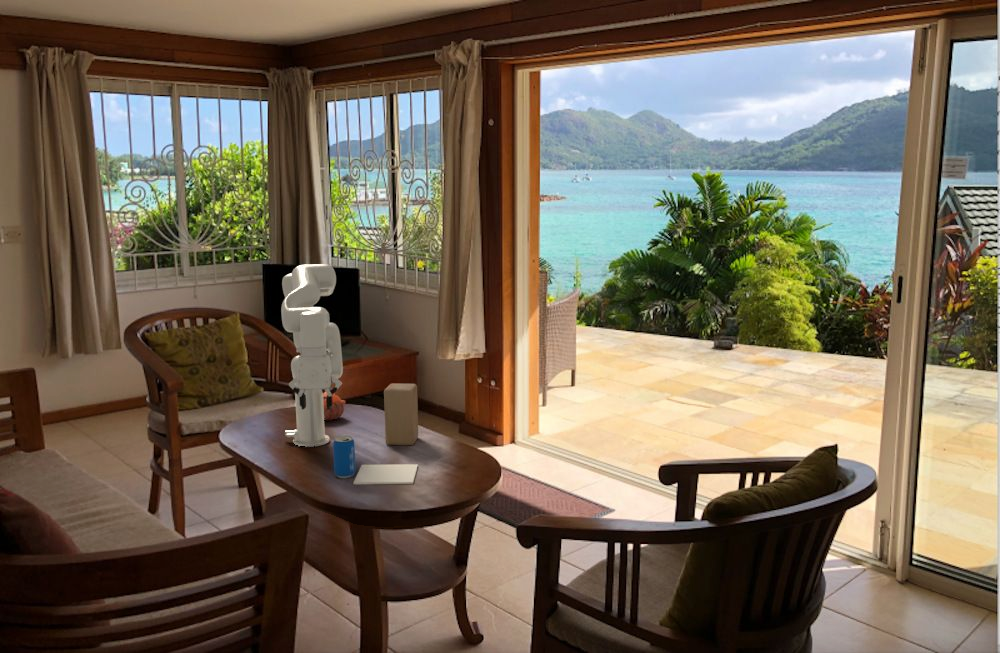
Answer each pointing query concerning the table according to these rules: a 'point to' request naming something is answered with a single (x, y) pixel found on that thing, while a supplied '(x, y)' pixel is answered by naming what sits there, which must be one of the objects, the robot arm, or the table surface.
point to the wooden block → (401, 414)
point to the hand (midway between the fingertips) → (316, 407)
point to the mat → (386, 474)
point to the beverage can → (344, 456)
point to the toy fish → (333, 407)
